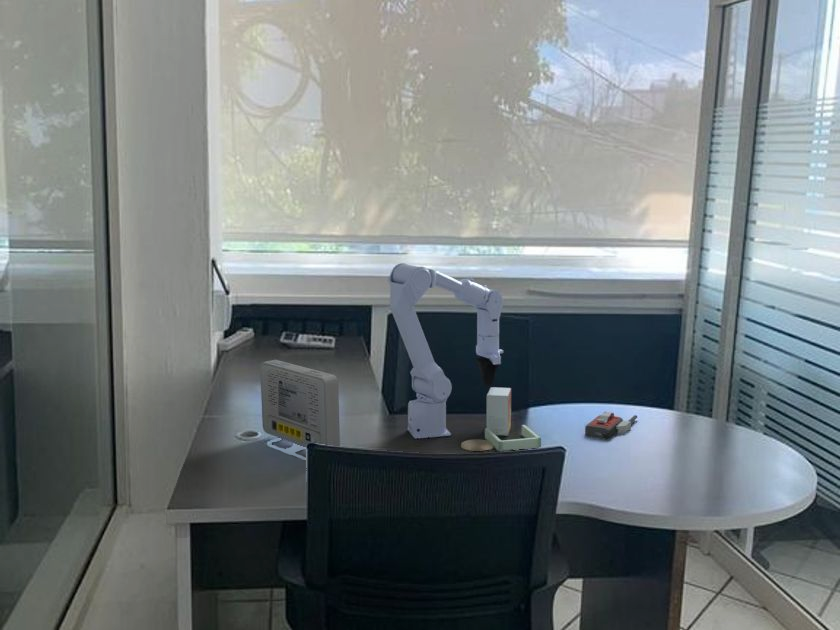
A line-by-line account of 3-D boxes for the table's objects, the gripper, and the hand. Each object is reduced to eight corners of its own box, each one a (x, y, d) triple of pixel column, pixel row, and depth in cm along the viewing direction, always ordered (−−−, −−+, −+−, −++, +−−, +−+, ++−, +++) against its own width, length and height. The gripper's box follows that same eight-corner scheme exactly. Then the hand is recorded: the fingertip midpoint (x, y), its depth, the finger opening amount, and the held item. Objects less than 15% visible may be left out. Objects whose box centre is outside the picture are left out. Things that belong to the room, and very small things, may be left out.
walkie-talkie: (615, 443, 213) (639, 422, 230) (616, 426, 212) (640, 406, 229) (581, 438, 217) (607, 417, 234) (582, 421, 216) (608, 401, 233)
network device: (347, 456, 204) (345, 374, 200) (318, 466, 198) (315, 381, 194) (282, 433, 222) (279, 357, 218) (253, 441, 215) (250, 363, 212)
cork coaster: (466, 453, 205) (466, 451, 205) (457, 442, 213) (457, 440, 213) (498, 450, 207) (498, 448, 207) (487, 439, 215) (487, 438, 215)
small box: (508, 436, 218) (508, 395, 216) (486, 435, 219) (486, 394, 217) (511, 426, 225) (511, 387, 223) (489, 425, 226) (490, 386, 224)
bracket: (499, 451, 206) (499, 441, 206) (484, 437, 216) (484, 428, 216) (540, 447, 209) (541, 438, 208) (524, 434, 219) (524, 424, 218)
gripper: (512, 339, 220) (511, 390, 223) (493, 328, 234) (493, 377, 237) (485, 340, 219) (485, 392, 221) (468, 329, 232) (468, 379, 235)
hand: (487, 384), depth 229 cm, fingers closed
